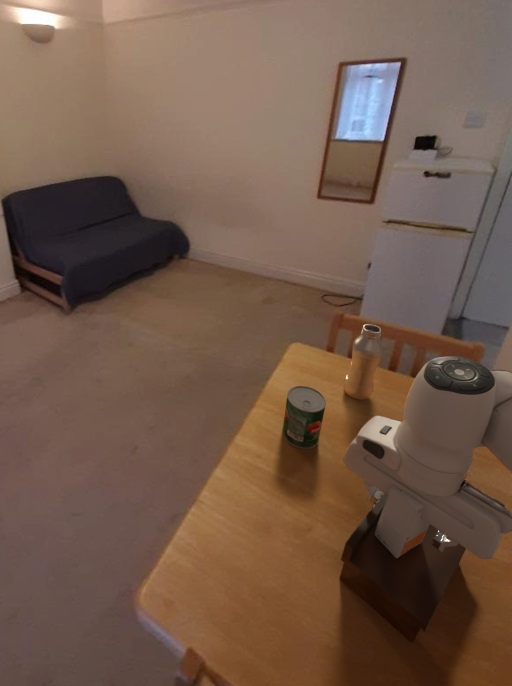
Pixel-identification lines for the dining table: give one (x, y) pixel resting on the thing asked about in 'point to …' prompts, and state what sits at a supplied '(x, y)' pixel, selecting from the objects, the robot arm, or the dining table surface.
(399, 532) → the cosmetic box
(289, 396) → the canned tomato
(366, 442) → the robot arm
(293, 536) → the dining table surface
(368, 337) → the plastic bottle
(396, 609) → the dark brown plinth
